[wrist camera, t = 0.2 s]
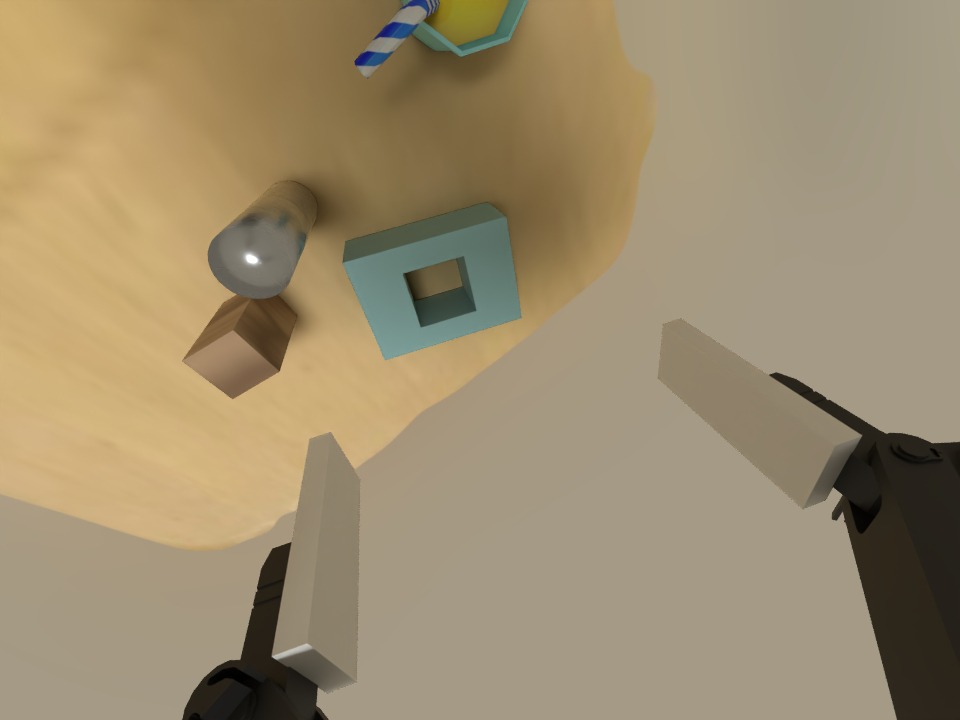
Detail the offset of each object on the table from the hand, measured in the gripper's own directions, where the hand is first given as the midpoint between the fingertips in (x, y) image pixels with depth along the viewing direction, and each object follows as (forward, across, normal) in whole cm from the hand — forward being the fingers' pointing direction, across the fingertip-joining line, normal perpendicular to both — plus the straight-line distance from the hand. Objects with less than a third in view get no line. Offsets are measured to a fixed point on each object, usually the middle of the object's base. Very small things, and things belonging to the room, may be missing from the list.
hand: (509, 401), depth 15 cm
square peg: (+27, -17, -3) cm, 32 cm away
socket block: (+27, 0, -4) cm, 27 cm away
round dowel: (+27, -10, +5) cm, 29 cm away
